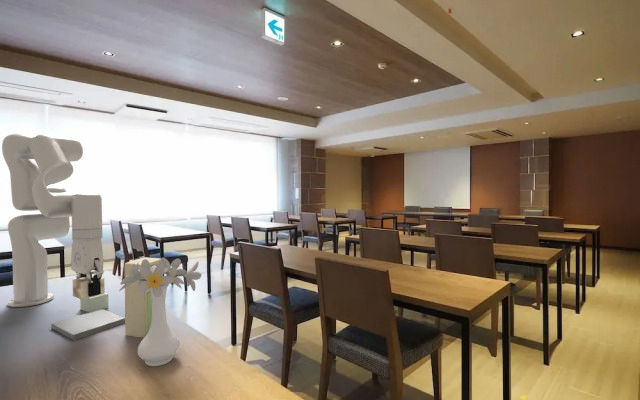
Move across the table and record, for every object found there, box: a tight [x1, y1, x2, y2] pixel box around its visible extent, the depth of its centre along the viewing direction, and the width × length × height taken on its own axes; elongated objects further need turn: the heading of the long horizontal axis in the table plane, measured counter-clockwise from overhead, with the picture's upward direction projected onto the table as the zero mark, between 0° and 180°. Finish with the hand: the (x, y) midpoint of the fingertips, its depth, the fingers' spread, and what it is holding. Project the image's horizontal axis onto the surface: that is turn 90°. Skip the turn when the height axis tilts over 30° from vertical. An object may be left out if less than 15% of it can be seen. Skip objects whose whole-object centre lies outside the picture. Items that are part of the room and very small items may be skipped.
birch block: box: [72, 274, 106, 300], centre depth 101 cm, size 6×6×5 cm
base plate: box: [50, 309, 125, 341], centre depth 102 cm, size 14×14×2 cm
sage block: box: [79, 292, 109, 313], centre depth 116 cm, size 6×6×5 cm
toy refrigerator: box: [123, 256, 164, 338], centre depth 98 cm, size 8×7×21 cm
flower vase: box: [118, 257, 202, 367], centre depth 83 cm, size 13×18×25 cm
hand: (88, 292), depth 101 cm, fingers closed on birch block, 6 cm apart
